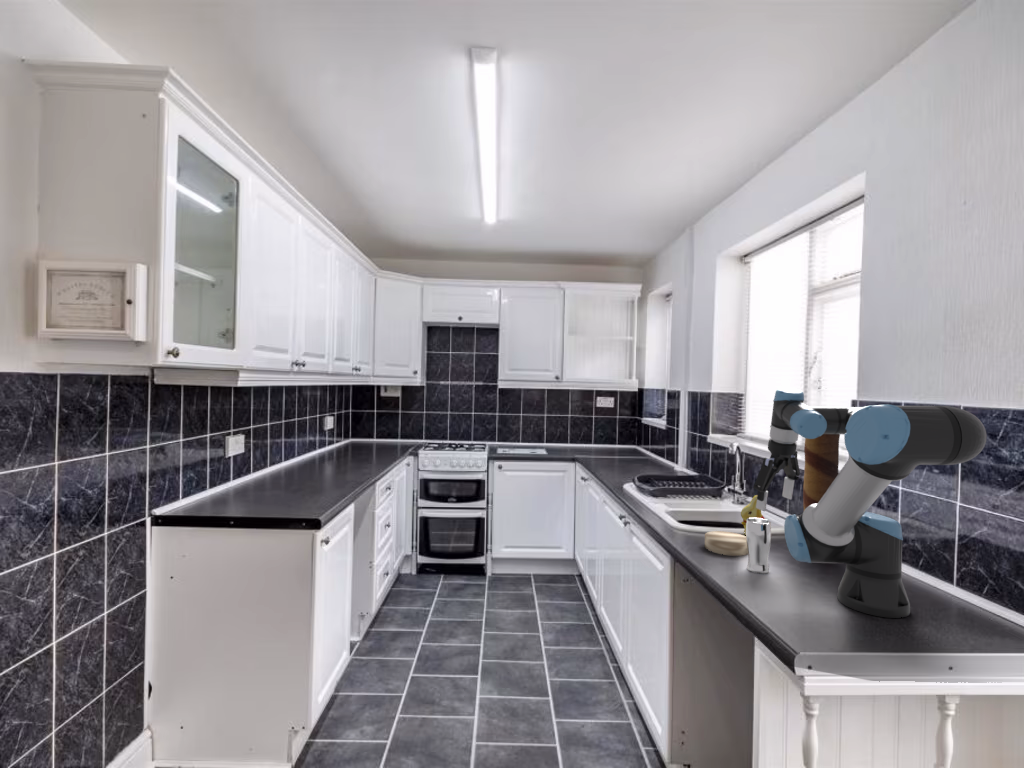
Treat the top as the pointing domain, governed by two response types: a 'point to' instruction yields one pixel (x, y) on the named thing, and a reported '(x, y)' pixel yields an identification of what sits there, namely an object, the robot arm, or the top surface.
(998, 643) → the top surface
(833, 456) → the wafer roll
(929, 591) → the top surface
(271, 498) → the top surface
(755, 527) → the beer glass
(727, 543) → the beige round disc
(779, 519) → the top surface
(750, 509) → the chocolate bunny
